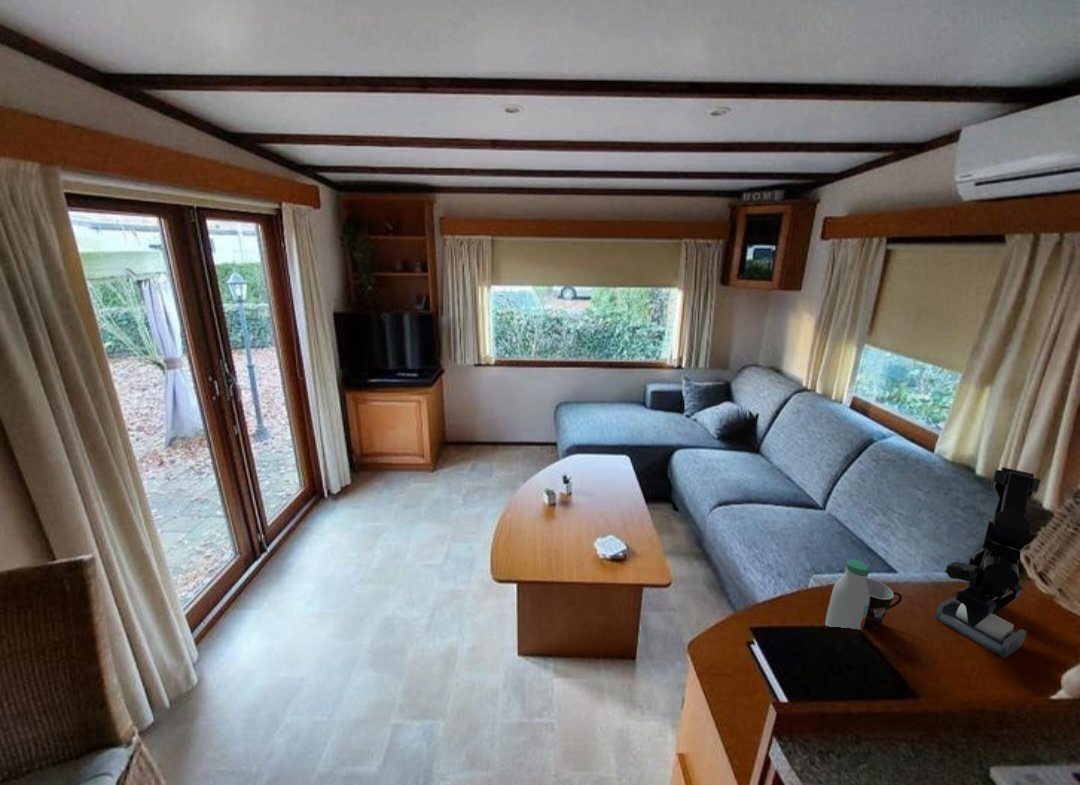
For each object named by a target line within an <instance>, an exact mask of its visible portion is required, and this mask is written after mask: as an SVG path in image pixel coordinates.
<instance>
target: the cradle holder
mask: <svg viewBox="0 0 1080 785" xmlns="http://www.w3.org/2000/svg"><path fill="white" fill-rule="evenodd" d="M955 596H956V594H955V595H954V596H951V597H949V598H948V599H946V600H944V601H942V602H940V603H938V605H937V608H936V612H935V615H934V619H936V621H939V622H940V623H942V624H943V625H946V626H947V625H948V627H949V628H951V629H952V630H955V631H956V632H958V633H960V634H961V635H963V636H965V637H966V638H968V639H970V640H972V641H973V642H975V643H977V644H979V645H980V646H982V647H984V648H986V649H987V650H990V651H991V652H993V653H995V654H996V655H998V656H1000V657H1002V658H1004V659H1005V658H1007V657H1008V656H1010V655H1012V654H1013V653H1015V652H1016V651H1018V650H1019V649H1020V648H1022V647H1023V644H1024V641H1025V639H1026V635H1027V632H1028V631H1026V630H1024V629H1022V628H1020V629H1018V631H1015V632H1012V634H1011V636H1010V637H1008V638H1007V639H1005V640H1004V642H1003V644H1002V643H1000V642H998V641H997V640H995V639H993V638H991V637H989V636H988V635H986V634H984V633H982V632H980V631H978V630H977V629H975V628H973V627H971V626H969V625H968V624H966V623H964V622H962V621H960V620H959V619H957V618H956V612H957V610H958V608H959V606H960V605H961V603H960V602H959V601H958V600H956V598H955Z"/></svg>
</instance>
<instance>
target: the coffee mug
mask: <svg viewBox="0 0 1080 785" xmlns="http://www.w3.org/2000/svg"><path fill="white" fill-rule="evenodd" d="M866 583H867V587H868V590H869V594H870V602H869V607H868V611H867V615H866V619H865V623H864V627H865V628H868V627H869V628H868V629H873V628H876V627H879V628H880V626H881V624H882V622H883V620H884V618H885V616H886V614H887V612H888V610H889V609H892V608H894V607H896V606H898V605H899V604H900V603H901V602H902V599H903V597H902V595H901V594H900V593H899V592H897V591H893V590H892V589H891V588H890V587H888V586H887V585H886V584H885V583H883V582H882V581H881V582H880V581H878V580H876V579H874V578H870V577H866ZM894 596H898V599H897V600H896V601H895V602H894V603H893V604H891V603H892V600H893V599H894ZM876 629H877V628H876Z"/></svg>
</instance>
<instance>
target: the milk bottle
mask: <svg viewBox="0 0 1080 785" xmlns="http://www.w3.org/2000/svg"><path fill="white" fill-rule="evenodd" d="M869 573H870V567H869V566H868V565H867V564H866V563H865V562H862V561H860V560H858V559H848V560H847V561H846V564H845V572H844V573H843V575H842V576H841V577H839V578H838V579H837V581H836V582H835V584H834V585H833V588H832V592H831V596H830V599H829V600H830V601H829V604H828V608H827V613H826V618H825V622H824V623H825V627H826V626H829V627H841V628H851V629H858V630H861V631H862V632H863V631H864V627H865V626H864V623H865V619H866V615H867V611H868V607H869V602H870V594H869V590H868V587H867V583H866V577H867V578H869Z"/></svg>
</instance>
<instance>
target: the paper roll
mask: <svg viewBox="0 0 1080 785" xmlns="http://www.w3.org/2000/svg"><path fill="white" fill-rule="evenodd" d="M956 618H957V619H959V620H960V621H962V622H964V623H966V624H968V619H967V611H966V607H965V605H964V604H963V603H961V602H960V606H959V608H958V610H957V612H956ZM968 625H969V624H968ZM969 626H970V625H969ZM971 627H972V626H971ZM1014 627H1015V625H1014V624H1013V623H1011V622H1009V621H1008V620H1005V619H1003V618H1001V617H1000V616H997V615H996V614H992V613H991V614H990V615H989V616H987V617H986V618H985V619H984V620H982V621H981V622H980V623H978V624H977V625H976V626H974V627H973V628H975V629H977V630H978V631H980V632H982V633H984V634H986V635H988V636H989V637H991V638H993V639H995V640H997V641H998V642H1000V643H1002V644H1003V642H1004V640H1005V639H1007V638H1008V637H1010V636H1011V634H1012V632H1013V631H1014V629H1015V628H1014ZM1013 633H1014V632H1013Z"/></svg>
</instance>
